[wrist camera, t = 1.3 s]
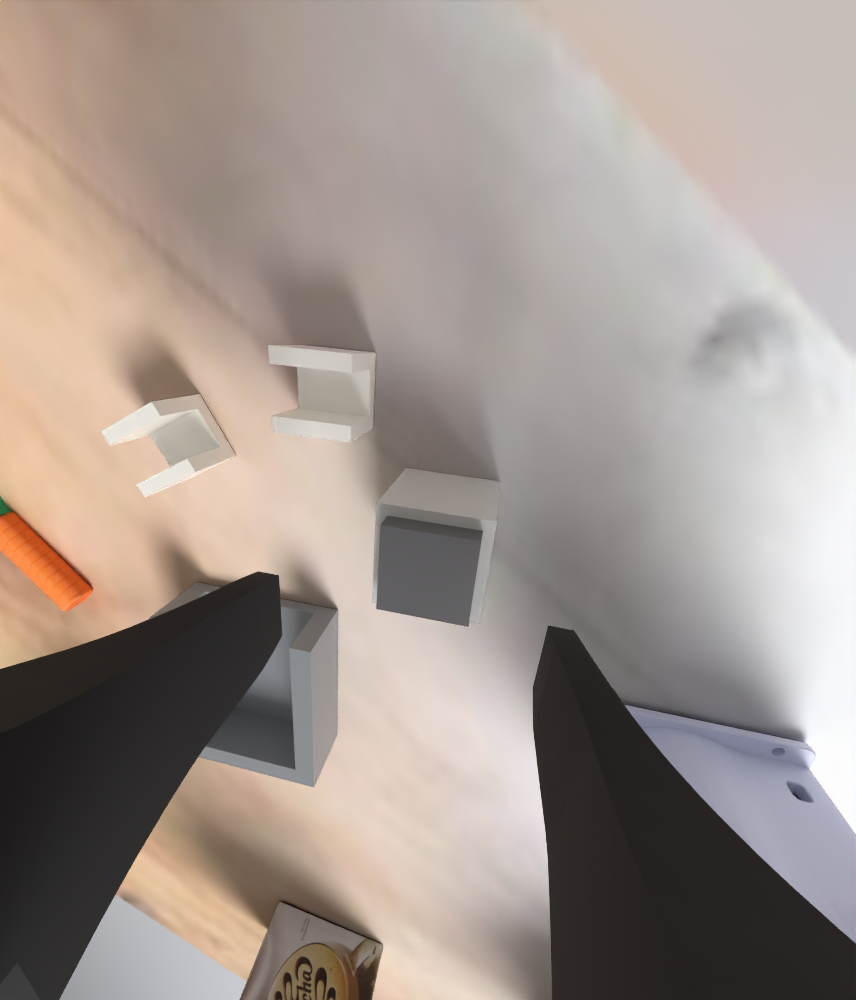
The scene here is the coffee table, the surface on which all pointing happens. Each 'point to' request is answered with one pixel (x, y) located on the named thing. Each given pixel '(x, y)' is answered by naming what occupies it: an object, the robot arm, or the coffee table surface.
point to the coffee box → (312, 961)
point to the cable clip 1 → (175, 438)
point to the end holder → (283, 698)
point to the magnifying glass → (40, 561)
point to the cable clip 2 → (328, 392)
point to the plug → (435, 545)
